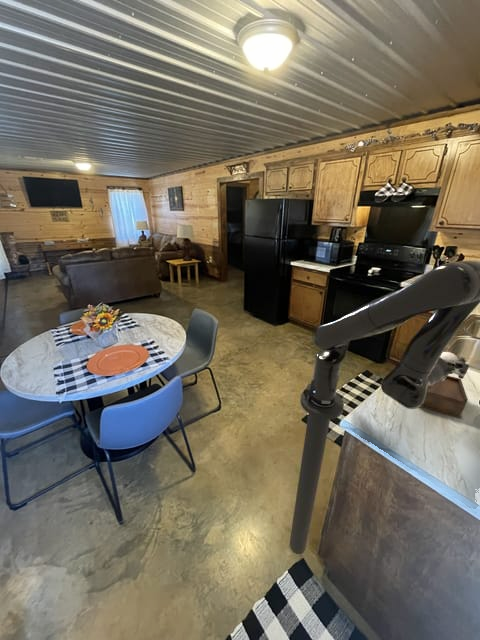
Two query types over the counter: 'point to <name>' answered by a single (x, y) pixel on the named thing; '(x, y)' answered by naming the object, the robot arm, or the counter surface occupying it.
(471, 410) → the counter surface
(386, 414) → the counter surface
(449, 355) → the lightbulb
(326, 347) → the robot arm
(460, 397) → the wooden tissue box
